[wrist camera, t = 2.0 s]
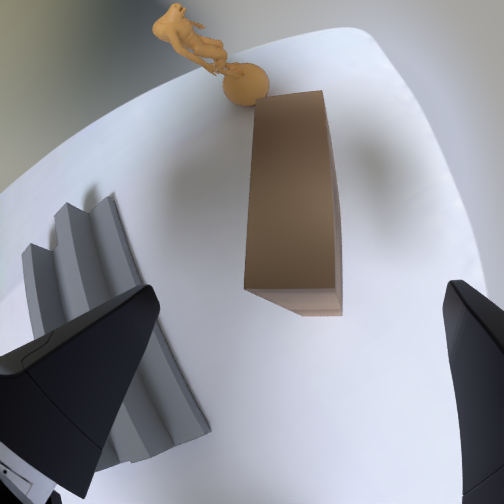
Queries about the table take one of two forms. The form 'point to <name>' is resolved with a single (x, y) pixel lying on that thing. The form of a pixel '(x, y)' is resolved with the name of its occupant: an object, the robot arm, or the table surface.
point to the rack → (92, 295)
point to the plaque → (294, 208)
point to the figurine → (236, 77)
